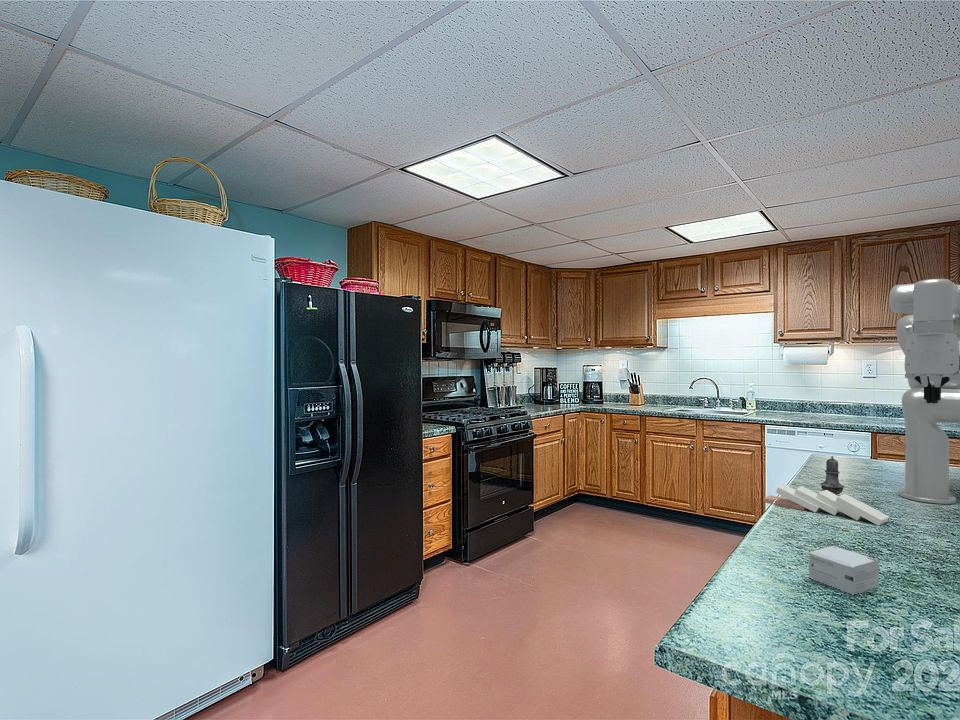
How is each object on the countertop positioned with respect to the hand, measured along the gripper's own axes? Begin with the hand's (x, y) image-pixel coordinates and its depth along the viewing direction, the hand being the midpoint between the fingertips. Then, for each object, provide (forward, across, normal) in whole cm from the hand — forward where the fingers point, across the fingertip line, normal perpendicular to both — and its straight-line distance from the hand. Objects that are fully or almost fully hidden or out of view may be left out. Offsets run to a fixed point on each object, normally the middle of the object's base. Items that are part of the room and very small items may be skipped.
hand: (932, 402), depth 129 cm
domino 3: (+28, -10, -13) cm, 33 cm away
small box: (+30, 0, -60) cm, 67 cm away
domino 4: (+28, -6, -14) cm, 32 cm away
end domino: (+29, -23, -14) cm, 39 cm away
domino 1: (+28, -20, -14) cm, 37 cm away
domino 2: (+28, -16, -13) cm, 35 cm away
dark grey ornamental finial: (+29, -23, +4) cm, 37 cm away
